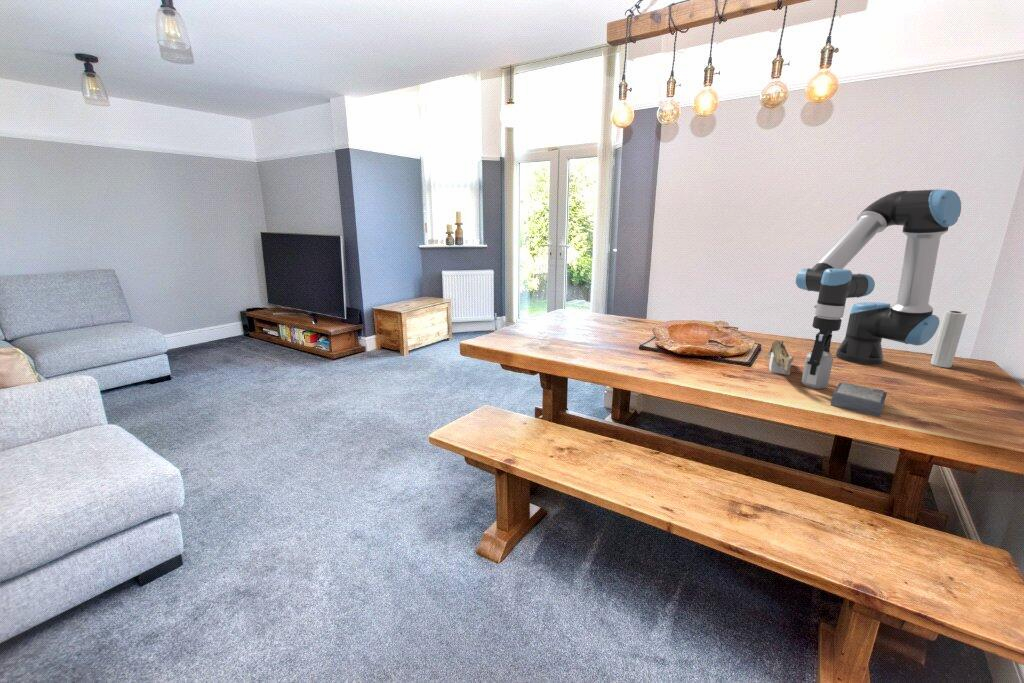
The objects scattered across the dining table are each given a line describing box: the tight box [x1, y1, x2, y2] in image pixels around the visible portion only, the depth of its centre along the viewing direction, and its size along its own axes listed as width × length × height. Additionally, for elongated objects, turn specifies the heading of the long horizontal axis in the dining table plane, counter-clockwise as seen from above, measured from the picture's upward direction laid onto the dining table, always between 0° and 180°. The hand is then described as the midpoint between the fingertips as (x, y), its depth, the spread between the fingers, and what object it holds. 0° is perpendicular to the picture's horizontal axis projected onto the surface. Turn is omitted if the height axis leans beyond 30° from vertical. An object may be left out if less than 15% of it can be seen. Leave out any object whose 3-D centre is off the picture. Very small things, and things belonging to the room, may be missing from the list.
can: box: [801, 349, 834, 390], centre depth 152 cm, size 8×8×12 cm
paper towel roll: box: [930, 310, 968, 369], centre depth 173 cm, size 7×6×21 cm
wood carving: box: [764, 340, 794, 376], centre depth 165 cm, size 9×35×11 cm, turn 156°
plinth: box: [830, 381, 888, 417], centre depth 138 cm, size 12×12×5 cm
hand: (815, 378), depth 152 cm, fingers open, 13 cm apart
